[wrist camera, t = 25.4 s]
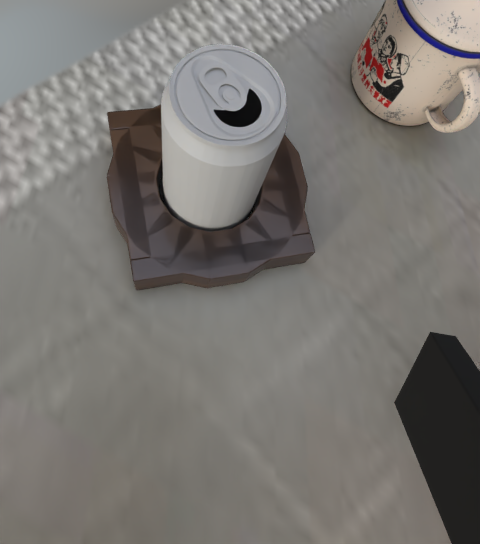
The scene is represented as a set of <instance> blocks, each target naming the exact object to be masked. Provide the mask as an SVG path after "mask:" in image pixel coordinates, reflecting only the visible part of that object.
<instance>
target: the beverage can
mask: <svg viewBox="0 0 480 544" xmlns="http://www.w3.org/2000/svg"><path fill="white" fill-rule="evenodd" d="M161 123H162V163H163V196H164V202H165V205H166V208H167V209H168V211H169V212H170V214H171V215H172V216H174V217H175V218H177V219H178V220H180V221H181V222H182V223H184V224H185V225H187V226H188V227H191V228H195V229H200V230H204V231H208V232H212V231H219V230H226V229H232V228H234V227H235V226H237V225H239V224H240V223H242V222H244V221H245V220H246V218H247V217H248V215H249V213H250V211H251V209H252V207H253V204H254V202H255V200H256V197H257V195H258V193H259V191H260V188H261V186H262V184H263V181H264V179H265V177H266V175H267V172H268V170H269V168H270V165H271V163H272V161H273V159H274V156H275V154H276V152H277V149H278V147H279V145H280V143H281V140H282V138H283V136H284V133H285V130H286V126H287V107H286V92H285V88H284V84H283V82H282V80H281V78H280V76H279V74H278V73H277V71H276V70H275V69H274V67H273V66H272V65H271V64H270V63H269V62H268V61H266V60H265V59H264V58H263V57H261V56H260V55H258V54H257V53H255V52H253V51H251V50H248V49H246V48H243V47H240V46H236V45H230V44H213V45H207V46H203V47H200V48H198V49H196V50H193V51H192V52H190V53H189V54H187V55H186V56H185V57H183V58H182V59H181V60H180V61H179V63H178V64H177V65H176V67H175V69H174V70H173V73H172V75H171V78H170V79H169V81H168V82H167V84H166V86H165V89H164V91H163V95H162V100H161Z"/></svg>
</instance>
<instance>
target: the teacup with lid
mask: <svg viewBox="0 0 480 544" xmlns="http://www.w3.org/2000/svg"><path fill="white" fill-rule="evenodd" d="M479 73H480V0H385V2H384V4H383V6H382V8H381V9H380V11H379V13H378V15H377V17H376V18H375V20H374V22H373V24H372V26H371V28H370V29H369V31H368V33H367V35H366V37H365V38H364V40H363V42H362V44H361V46H360V47H359V49H358V51H357V53H356V55H355V57H354V60H353V63H352V70H351V75H352V82H353V86H354V88H355V91H356V93H357V95H358V97H359V98H360V100H361V101H362V102H363V104H364V105H365V106H366V107H367V108H368V109H369V110H370V111H371V112H373V113H374V114H375V115H377V116H378V117H380V118H382V119H384V120H386V121H388V122H391V123H394V124H398V125H404V126H415V125H420V124H424V123H426V122H430V124H431V125H432V126H433V128H435V129H436V130H438V131H440V132H444V133H450V132H457V131H460V130H463V129H464V128H466V127H468V126H469V125H470V124H471V123H472V122H473V121H474V120H475V119H476V118H477V116H478V114H479V112H480V77H479V75H478V74H479ZM462 90H463V91H464V104H463V108H462V111H461V113H460V114H459V116H458V117H457V118H456V119H455V120H453V121H452V122H451V121H449V120H448V119H447V118H446V117H445V115H444V113H443V110H444V109H445V108H446V107H447V106H448V105H449V104H450V103H451V102H452V101H453V100H454V99H455V98H456V96H457V95H458V94H459V93H460V92H461V91H462Z"/></svg>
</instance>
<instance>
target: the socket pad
mask: <svg viewBox="0 0 480 544" xmlns="http://www.w3.org/2000/svg"><path fill="white" fill-rule="evenodd" d="M107 115H108V122H109V128H110V135H111V141H112V147H113V157H112V160H111V163H110V167H109V170H108V173H107V182H108V188H109V195H110V202H111V208H112V213H113V217H114V220H115V223H116V226H117V228H118V230H119V232H120V233H121V235H122V236H123V238H124V239H125V241H126V242H127V244H128V249H129V256H130V262H131V269H132V275H133V281H134V284H135V288H136V290H141V289H148V288H154V287H160V286H166V285H172V284H178V283H186V284H191V285H195V286H200V287H204V288H210V287H216V286H222V285H228V284H234V283H240V282H244V281H246V280H248V279H249V278H251V277H252V276H254V275H255V274H257V273H259V272H260V271H262V270H263V269H269V268H275V267H281V266H287V265H293V264H299V263H304V262H306V261H307V260H308V259H309V258H310V257H311V256H312V255H313V254H314V253H315V249H314V245H313V241H312V238H311V234H310V230H309V226H308V222H307V218H306V215H305V211H304V208H305V202H306V195H307V183H306V179H305V175H304V171H303V167H302V164H301V160H300V156H299V153H298V152H297V150H296V149H295V147H294V146H293V145H292V143H291V142H290V141H289V139H288V138H287V137H286V135H285V133H284V136H283V138H282V140H281V143H280V145H279V147H278V149H277V152H276V154H275V156H274V159H273V161H272V163H271V165H270V168H269V170H268V172H267V175H266V177H265V179H264V181H263V184H262V186H261V188H260V191H259V193H258V195H257V197H256V203H255V208H254V211H253V213H252V214H251V215H250V217H249V218H248V219H247V220H245V221H244V222H242V223H240V224H239V225H237V226H235V227H234V228H232V229H226V230H219V231H212V232H208V231H204V230H200V229H195V228H191V227H188V226H187V225H185V224H184V223H182V222H181V221H180V220H178V219H177V218H175V217H174V216H172V215H171V214H170V212H169V211H168V209H167V208H166V206H165V205H164V203H163V202H162V200H161V199H160V195H159V186H160V182H161V178H162V176H163V163H162V123H161V105H159V106H157V107H154V108H150V109H139V110H127V111H116V112H108V113H107Z"/></svg>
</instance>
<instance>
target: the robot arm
mask: <svg viewBox="0 0 480 544" xmlns="http://www.w3.org/2000/svg"><path fill="white" fill-rule="evenodd" d="M394 403H395V405H396V408H397V410H398V413H399V415H400V418H401V420H402V423H403V425H404V427H405V430H406V432H407V435H408V437H409V440H410V442H411V445H412V447H413V450H414V452H415V454H416V457H417V459H418V462H419V464H420V467H421V469H422V472H423V474H424V477H425V479H426V482H427V484H428V486H429V489H430V491H431V494H432V496H433V499H434V501H435V504H436V506H437V509H438V511H439V513H440V516H441V518H442V521H443V523H444V526H445V528H446V531H447V533H448V536H449V538H450V540H451V543H452V544H480V371H479V370H478V368H477V367H476V365H475V364H474V362H473V361H472V360H471V358H470V357H469V355H468V354H467V352H466V351H465V349H464V348H463V346H462V345H461V343H460V342H459V341H458V339H457V338H456V336H450V335H445V334H439V333H433V332H430V334H429V336H428V337H427V339H426V341H425V343H424V345H423V347H422V349H421V351H420V353H419V355H418V357H417V359H416V361H415V363H414V365H413V367H412V369H411V371H410V373H409V375H408V377H407V379H406V381H405V383H404V385H403V387H402V389H401V391H400V393H399V395H398V396H397V398H396V400H395V402H394Z"/></svg>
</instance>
